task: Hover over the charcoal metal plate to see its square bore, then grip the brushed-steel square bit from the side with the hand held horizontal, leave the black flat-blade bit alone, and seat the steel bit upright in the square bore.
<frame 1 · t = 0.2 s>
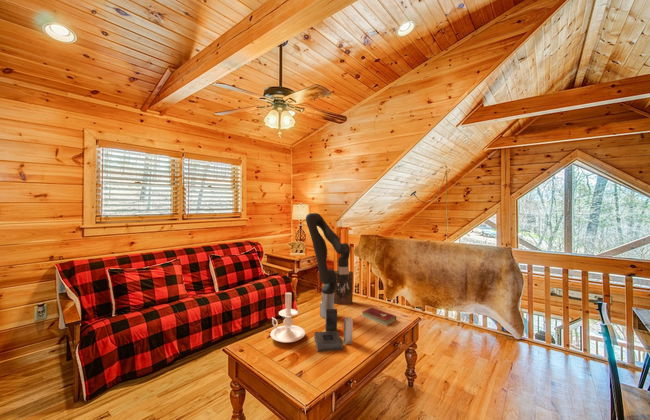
hand: (343, 296, 186), 17 cm above the table, tool pointing down, fingers open, 8 cm apart
book: (342, 302, 221), on the table
hardcover book: (378, 319, 193), on the table
bore plate: (327, 344, 157), on the table
square bit: (347, 342, 160), on the table
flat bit: (331, 330, 174), on the table
candlestick: (285, 337, 165), on the table
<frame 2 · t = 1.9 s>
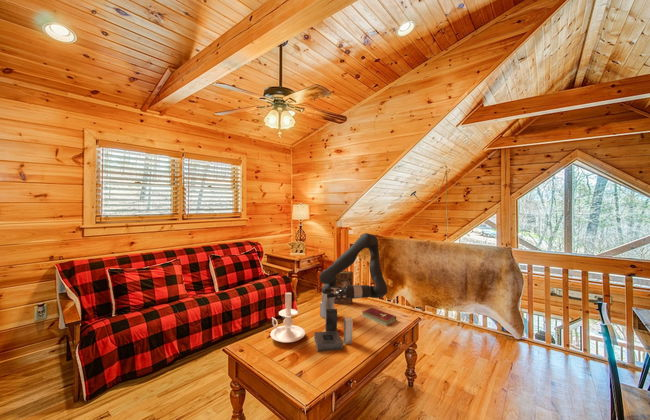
hand: (325, 292, 156), 30 cm above the table, tool horizontal, fingers open, 8 cm apart
nothing on the table moved.
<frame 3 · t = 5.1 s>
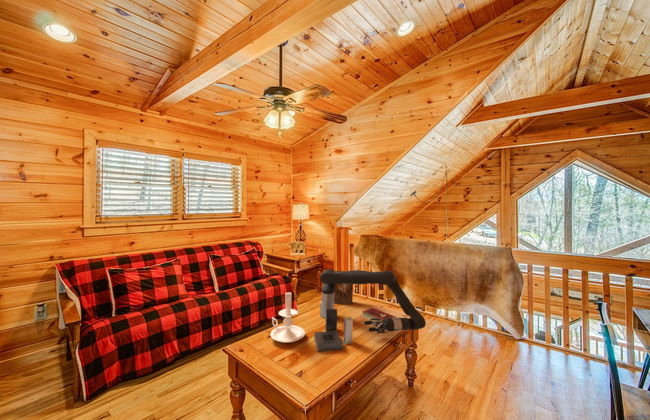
hand: (366, 326, 161), 9 cm above the table, tool horizontal, fingers open, 8 cm apart
nothing on the table moved.
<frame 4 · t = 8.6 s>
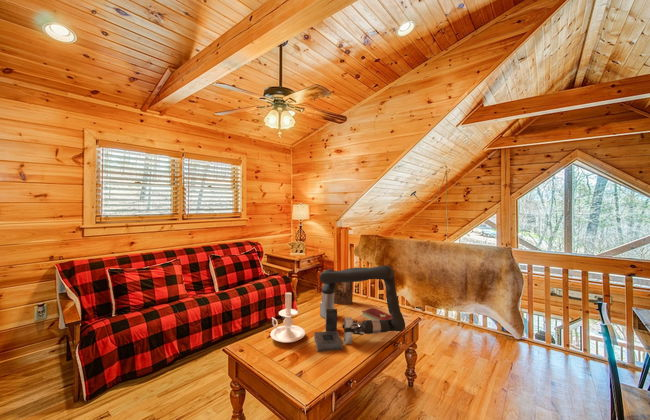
hand: (343, 328, 159), 8 cm above the table, tool horizontal, fingers closed on square bit, 4 cm apart
square bit: (347, 342, 160), on the table, touching gripper
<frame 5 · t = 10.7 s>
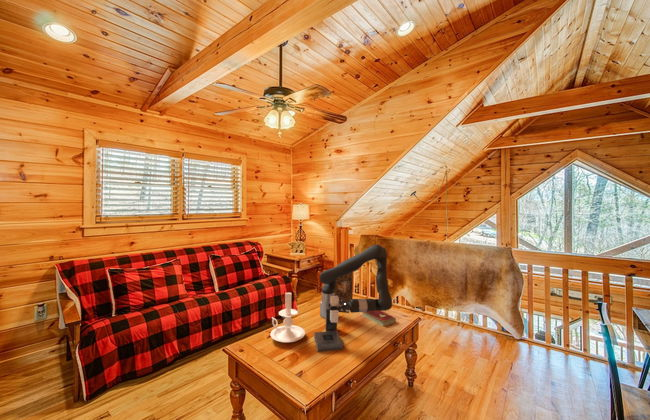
hand: (329, 306, 157), 22 cm above the table, tool horizontal, fingers closed on square bit, 4 cm apart
square bit: (333, 320, 158), point 13 cm above the table, touching gripper
when the fingers open (10 cm above the table, at t = 13.2 s): square bit drops 1 cm, resting in bore plate.
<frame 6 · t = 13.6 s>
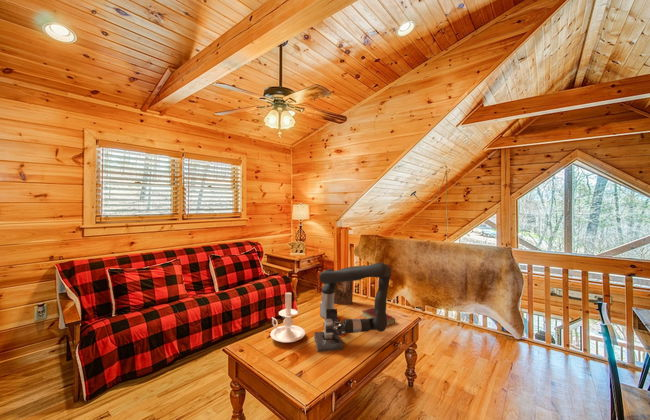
hand: (324, 327, 157), 10 cm above the table, tool horizontal, fingers open, 7 cm apart
square bit: (327, 344, 157), resting in bore plate
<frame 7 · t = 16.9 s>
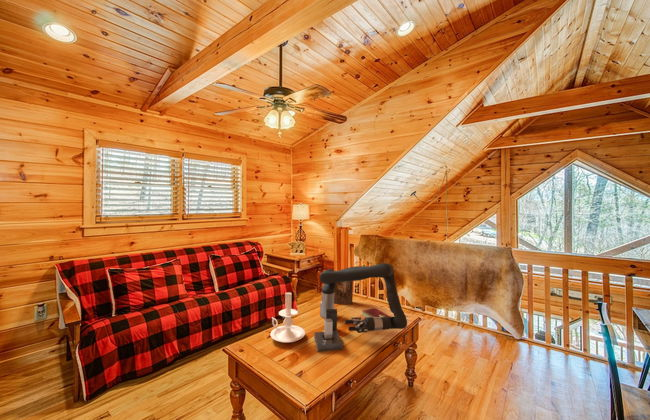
hand: (346, 325, 159), 10 cm above the table, tool horizontal, fingers open, 8 cm apart
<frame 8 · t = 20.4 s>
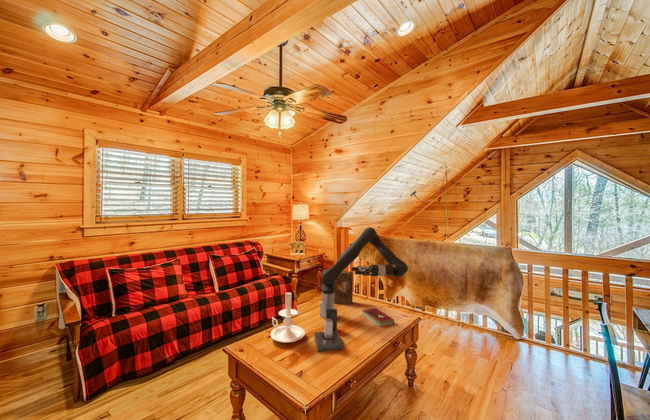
hand: (353, 270, 175), 38 cm above the table, tool horizontal, fingers open, 8 cm apart
at the end: square bit 0.0 cm off-centre on the bore plate, point 0.0 cm above the bore plate's base; square bit tilted 0°; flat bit moved 0.0 cm from its start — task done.
